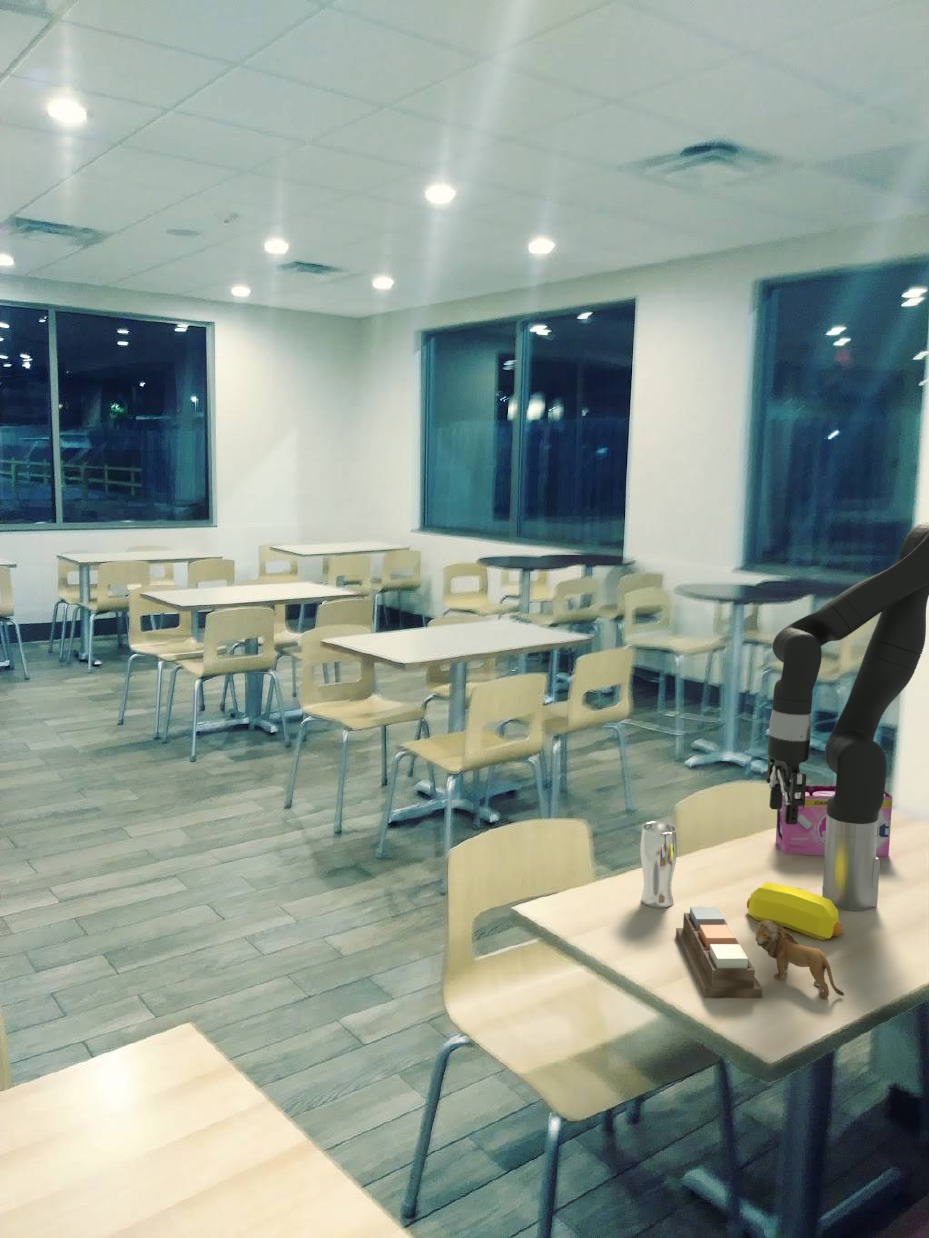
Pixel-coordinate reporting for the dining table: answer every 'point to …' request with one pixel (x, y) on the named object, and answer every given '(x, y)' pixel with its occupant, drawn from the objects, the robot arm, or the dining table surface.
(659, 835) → the beer glass
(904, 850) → the dining table surface
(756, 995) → the button board
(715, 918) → the slate button
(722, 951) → the ivory button
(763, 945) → the lion figurine
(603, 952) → the dining table surface
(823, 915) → the ripe banana
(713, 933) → the terracotta button
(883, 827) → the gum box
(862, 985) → the dining table surface
